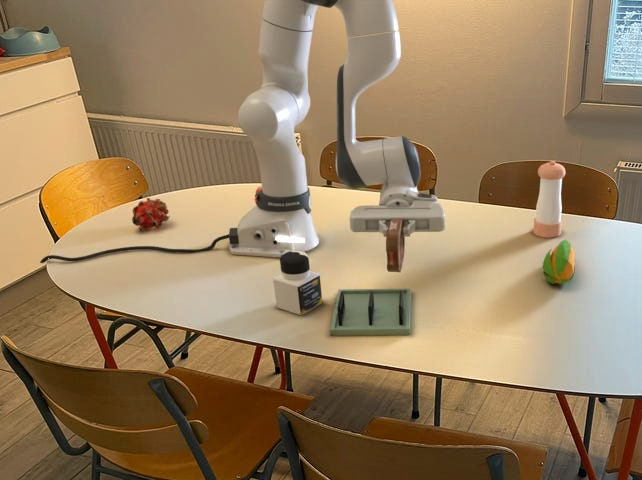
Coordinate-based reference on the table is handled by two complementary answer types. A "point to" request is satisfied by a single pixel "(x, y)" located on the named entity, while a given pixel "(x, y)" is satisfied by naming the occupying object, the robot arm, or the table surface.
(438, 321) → the table surface
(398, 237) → the tin
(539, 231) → the pepper shaker
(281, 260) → the medicine bottle
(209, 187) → the table surface
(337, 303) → the drying rack
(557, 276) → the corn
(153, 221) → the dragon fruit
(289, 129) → the robot arm
